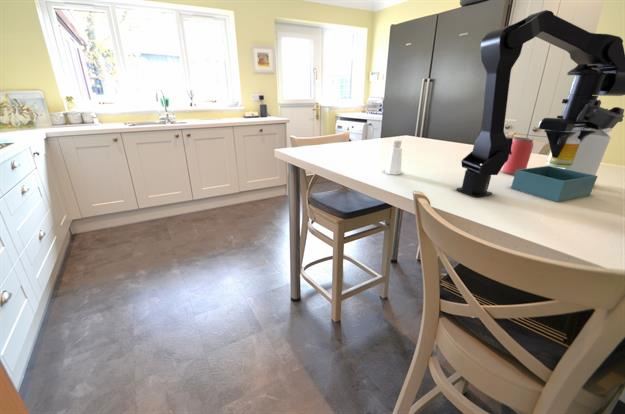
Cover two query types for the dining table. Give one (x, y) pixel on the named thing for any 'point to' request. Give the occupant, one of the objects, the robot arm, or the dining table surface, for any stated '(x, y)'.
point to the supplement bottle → (566, 152)
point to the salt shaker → (394, 158)
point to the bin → (553, 183)
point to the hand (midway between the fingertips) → (561, 156)
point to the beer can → (518, 155)
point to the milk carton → (591, 152)
